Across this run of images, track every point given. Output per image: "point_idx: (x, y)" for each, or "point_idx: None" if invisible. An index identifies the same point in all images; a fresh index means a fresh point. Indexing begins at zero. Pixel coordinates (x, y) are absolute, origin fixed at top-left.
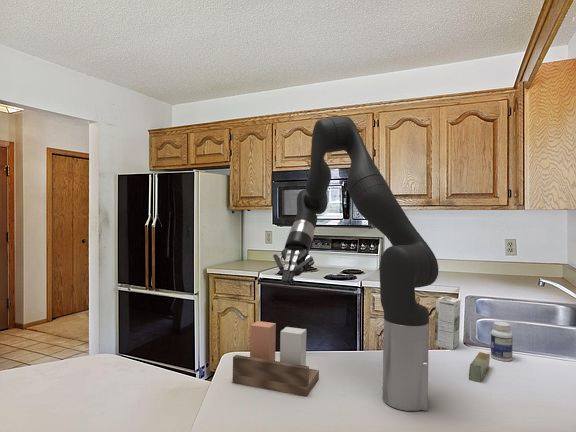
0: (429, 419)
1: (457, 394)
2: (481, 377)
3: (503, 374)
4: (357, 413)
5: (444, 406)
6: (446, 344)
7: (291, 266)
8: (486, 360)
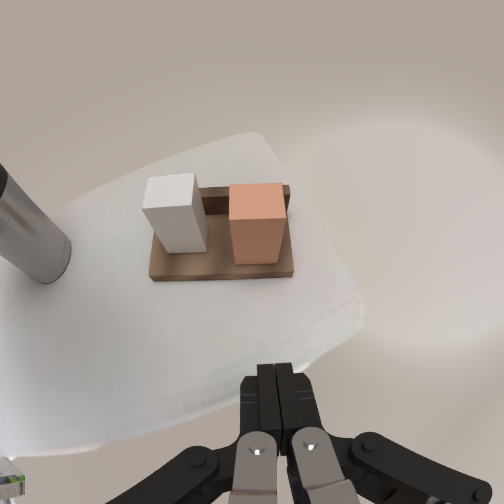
0: None
1: (7, 299)
2: None
3: None
4: (101, 207)
5: None
6: (8, 464)
7: (266, 468)
8: None
